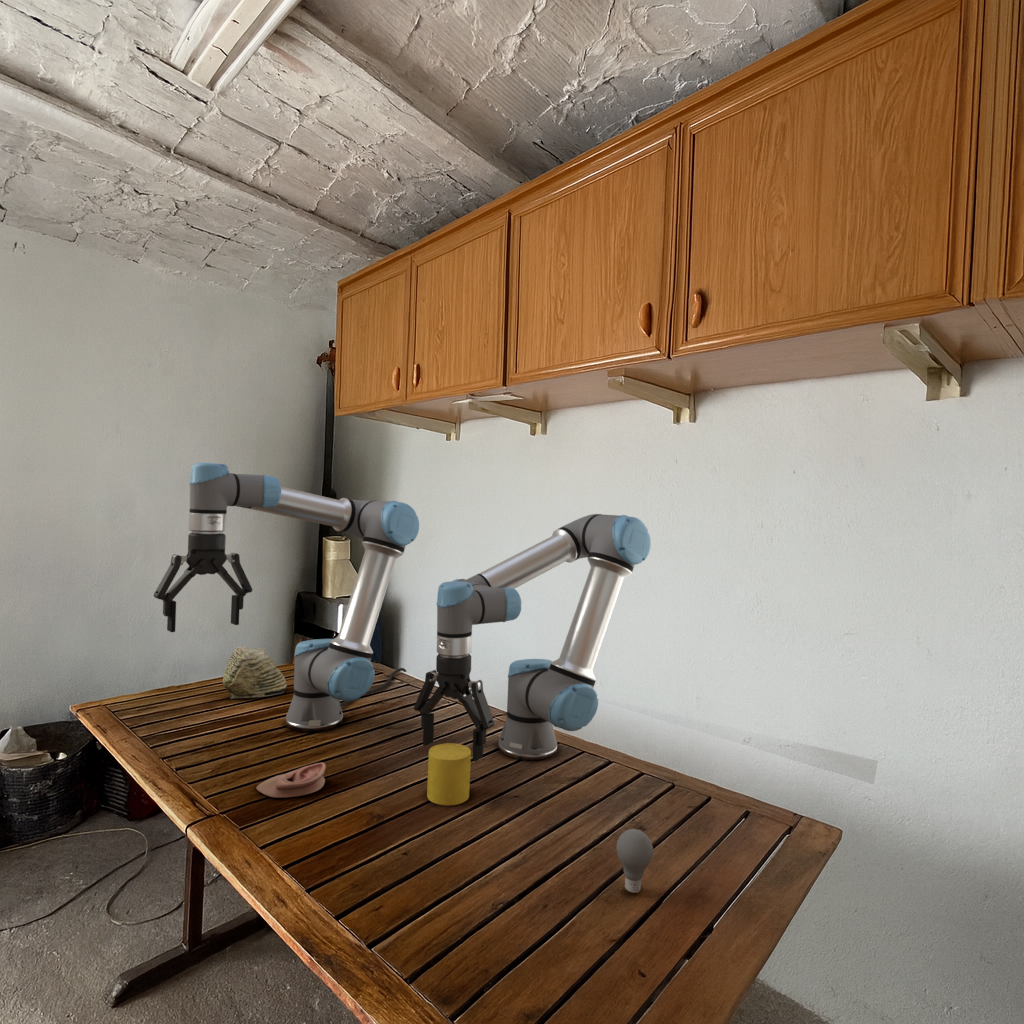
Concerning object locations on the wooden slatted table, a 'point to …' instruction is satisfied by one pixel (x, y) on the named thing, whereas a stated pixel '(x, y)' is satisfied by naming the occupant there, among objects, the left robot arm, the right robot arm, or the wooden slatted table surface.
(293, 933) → the wooden slatted table surface
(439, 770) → the yellow cylinder
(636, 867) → the light bulb
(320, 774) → the anatomical model
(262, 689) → the fossil
